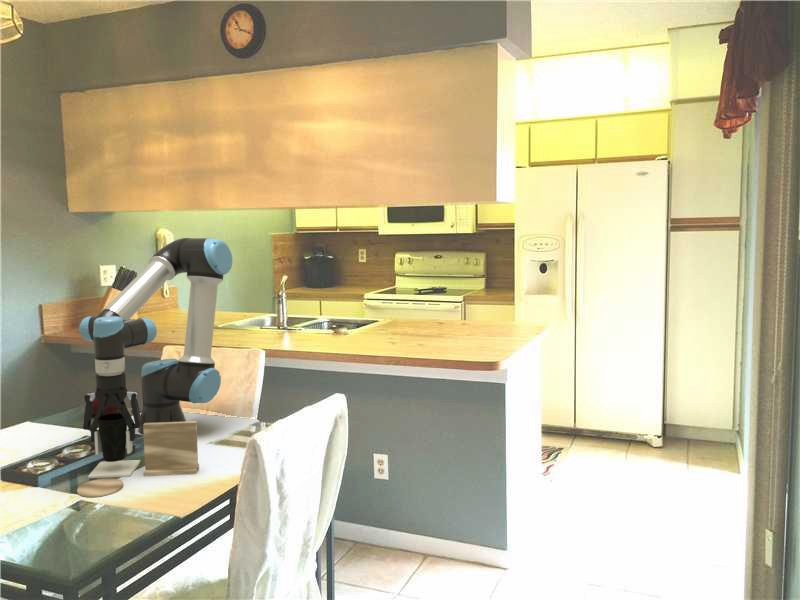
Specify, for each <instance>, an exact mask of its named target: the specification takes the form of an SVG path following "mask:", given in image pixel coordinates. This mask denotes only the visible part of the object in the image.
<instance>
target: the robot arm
mask: <svg viewBox="0 0 800 600" xmlns="http://www.w3.org/2000/svg"><path fill="white" fill-rule="evenodd" d="M232 267H233V254H232V251H231V249H230V247H229V245H228V243H226V242H225V241H224V240H223V239H219V238H218V239H217V238H212V237H211V238H210V237H208V238H199V237H198V238H194V237H193V238H190V237H182V238H178V239H175V240H173V241H172V242H170V243H168V244H166V245H164V246H163V247H162V248H160V249H159V250H158V251H157V252H155V253H154V254H153V255H152V256H151V257H150V258H149V259H148V265H147V266H145V268H144V269H143V270H141V271H140V272H139V274H137V276H135V278H134V279H132V280H131V281H130V283H128V284H127V285H126V286H125V288H124V289H122V290H121V291H120V292H119V293H118V294H117V295H116V297H114V298H113V299H112V300H111V301H110V302H109V303H108V304H107V305H106V306H105V307H104V308H103V309H102V310H101V311H100V312H99V313H98V314H97V315H92V316H91V315H90V316H89V315H88V316H87V317H84V318H83V319H82V320H81V322H80V323H79V327H78V331H79V335H80V337H81V338H82V339H83V340H84V341H87V342H90V343H91V342H93V345H94V365H95V367H94V368H95V373H96V375H95V386H96V388H95V389H96V390H95V392H92V393H91V392H88V393H86V394H85V395H84V401H85V408H84V416H83V417H84V418H83V425H82V429H83V430H85V431H86V430H87V431H89V432H90V441H91V443H94V451H95V453H94V454H95V456H98V455H100V454H101V453H102V446H101V440H100V433H99V427H98V420H97V419H98V418H99V419H100V418H101V417H102V415H103V412H104V410H105V407H109V406H117V408H118V411H119V413H121V414H122V416H123V418H125V422H126V424H127V431H126V455H127V454H128V455H129V454H131V453H132V451H133V442H134V441H135V440H136V430H137V429H138V430H137V431H138V432H139V433H141V434H143V435H144V432H143V424H144V423H159V422H187V421H186V420H187V419H186V417H185V414H184V412H183V409H182V406H181V403H180V402H189V403H192V404H207V403H209V402H211V401H212V400H213V399H214V398H215V397H216V395H217V394H218V392H219V390H220V387H221V384H222V382H221V381H222V377H221V373H220V371H219V369H217V368H215V366H216V361H215V360H214V359H213V358H212V348H213V337H214V330H215V329H214V328H215V317H216V316H215V315H216V307H217V296H218V287H219V285H220V284H221V283H222V282H223V281H224V275H227V274H228V273H229V272H230V271H231V270H232ZM185 273H186V278H187V280H189V282H190V286H189V287H190V288H189V297H188V298H189V299H188V308H187V309H188V310H187V318H186V328H185V329H186V330H185V339H184V349H183V355H182V356H181V357H180V358H179V359H177V358H166V359H165V358H163V359H158V360H154V361H149V362H146V363H144V364H143V365H142V368H141V376H140V377H141V379H140V380H141V394H142V410H141V412H140V408H139V407H140V405H139V402H138V396H139V392H138V391H134V392H133V391H128V389H127V384H126V383H127V381H126V380H127V379H126V378H127V377H126V373H125V371H126V361H125V360H126V357H125V349H128V348H133V347H137V346H144V345H146V344H149V343H151V342H153V341H154V340H155V339H156V337H157V333H158V330H157V325H156V324H155V322H154V321H153V320H152V319H150V318H148V317H143V318H141V317H138V318H137V319H134V318H133V319H131V318H132V317H133V316H134V315H135V314H136V313H137V312H138V311H139V310H140V309H141V308H142V307H143V306H144V305H145V304H146V303H147V302H148V301H149V299H150V298H151V297H153V295H155V294H156V293H157V291H158V290H159V289H160V288H161V287H162V286H163V285H164V284H165V283H166V282H167V281H170V280H173V279H174V278H175V277H176V276H177V275H180V274H185ZM95 397H96V398H97V399H98V400H99V401H100V405H99V407H98V411H97V413H96V414H95V416H94V419H93V421H92V416H93V413H92V409H93V400H94V399H95ZM126 397H128V400H129V401H130V405H131V406H130V407H131V411H132V415H131V413H130V411H129V409H128V407H127V405H126V402H125V399H126ZM132 416H133V417H132Z"/></svg>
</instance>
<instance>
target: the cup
mask: <svg viewBox="0 0 800 600" xmlns="http://www.w3.org/2000/svg"><path fill="white" fill-rule="evenodd" d="M97 420H98V429H99V433H100V440H101V453H102V458H103V461H106V462H116V461H124V460H125V458H126V451H127V440H126V431H127V430H128V426H127V424H126V422H125V418H123V416H122V414H121V412H114V413H110V414H105V415H102V417H101V418H100V419H99V418H98V419H97Z"/></svg>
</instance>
